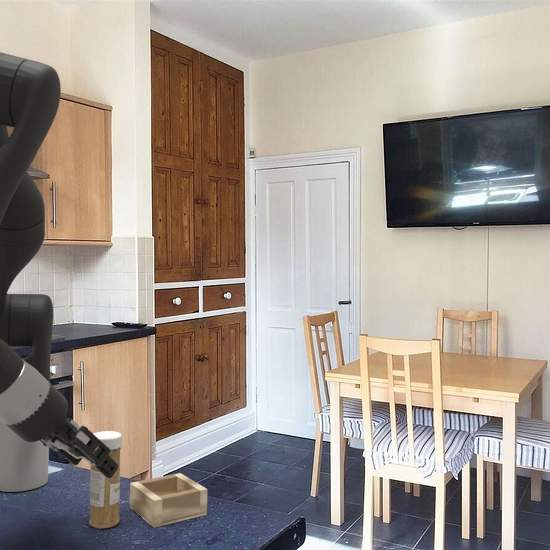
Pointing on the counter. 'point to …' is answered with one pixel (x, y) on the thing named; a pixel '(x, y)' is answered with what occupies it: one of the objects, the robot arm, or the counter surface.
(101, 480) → the sprinkles bottle
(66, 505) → the counter surface
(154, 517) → the socket block
